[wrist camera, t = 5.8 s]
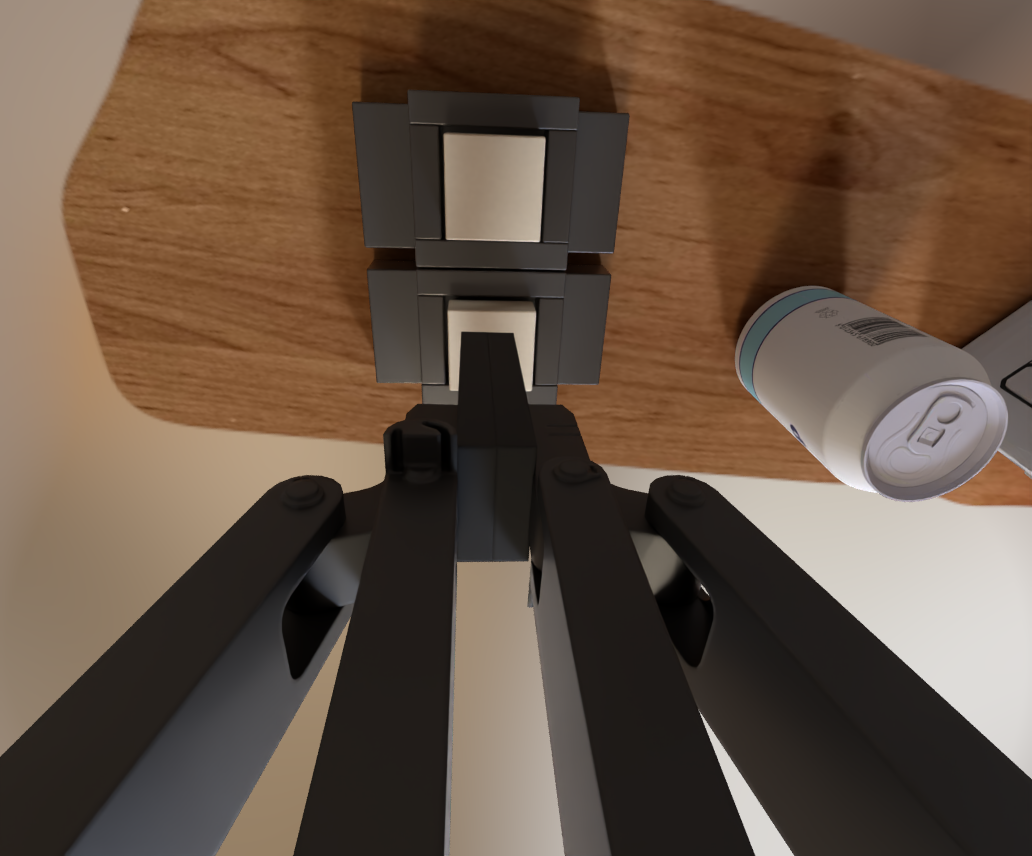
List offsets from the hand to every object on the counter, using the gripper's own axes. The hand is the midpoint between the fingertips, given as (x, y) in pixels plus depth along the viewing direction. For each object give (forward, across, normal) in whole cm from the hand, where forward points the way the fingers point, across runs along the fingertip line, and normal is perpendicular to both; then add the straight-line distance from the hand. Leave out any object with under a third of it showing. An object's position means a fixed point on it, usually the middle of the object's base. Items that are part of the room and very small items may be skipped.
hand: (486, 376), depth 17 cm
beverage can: (+15, +18, -4) cm, 23 cm away
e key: (+11, +1, -3) cm, 12 cm away
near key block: (+15, 0, +4) cm, 15 cm away
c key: (+11, 0, +4) cm, 12 cm away
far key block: (+15, +1, -3) cm, 15 cm away
